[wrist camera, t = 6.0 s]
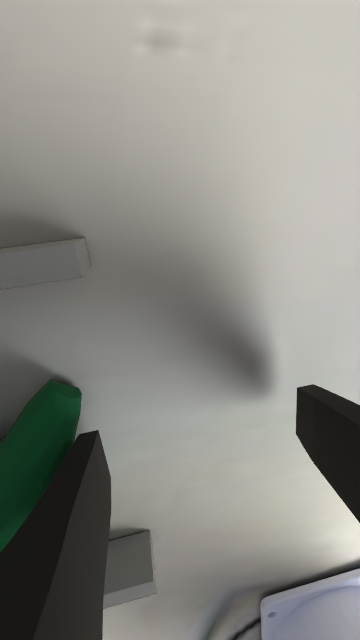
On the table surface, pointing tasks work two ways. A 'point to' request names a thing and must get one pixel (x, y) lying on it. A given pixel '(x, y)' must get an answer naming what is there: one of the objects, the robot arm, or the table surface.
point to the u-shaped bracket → (62, 264)
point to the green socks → (35, 452)
